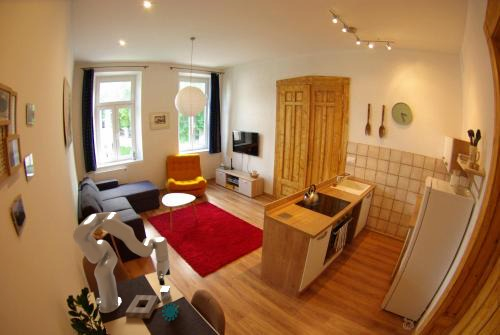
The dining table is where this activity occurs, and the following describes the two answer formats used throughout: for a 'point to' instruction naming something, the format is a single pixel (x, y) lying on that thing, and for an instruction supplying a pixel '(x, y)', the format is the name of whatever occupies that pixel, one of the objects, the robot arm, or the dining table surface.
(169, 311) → the gear
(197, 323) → the dining table surface
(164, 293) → the peg
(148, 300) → the bore block
